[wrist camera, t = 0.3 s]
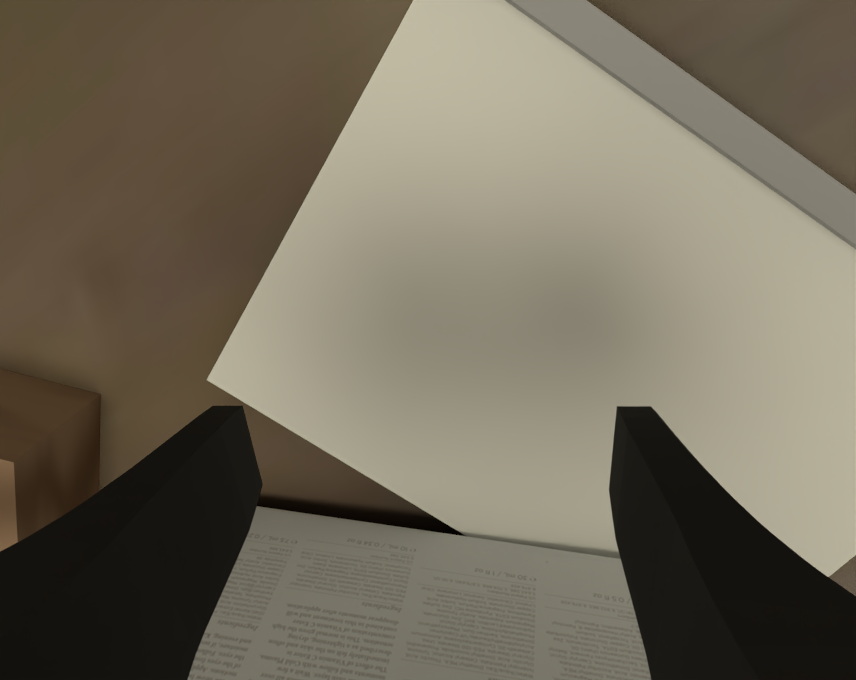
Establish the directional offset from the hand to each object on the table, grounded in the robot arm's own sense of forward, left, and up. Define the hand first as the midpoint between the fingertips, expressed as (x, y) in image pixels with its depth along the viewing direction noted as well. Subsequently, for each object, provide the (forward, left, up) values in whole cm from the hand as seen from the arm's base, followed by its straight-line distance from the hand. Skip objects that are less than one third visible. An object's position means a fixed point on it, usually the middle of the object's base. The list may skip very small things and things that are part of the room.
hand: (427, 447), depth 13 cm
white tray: (0, -6, -11) cm, 12 cm away
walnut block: (-15, +11, -11) cm, 22 cm away
